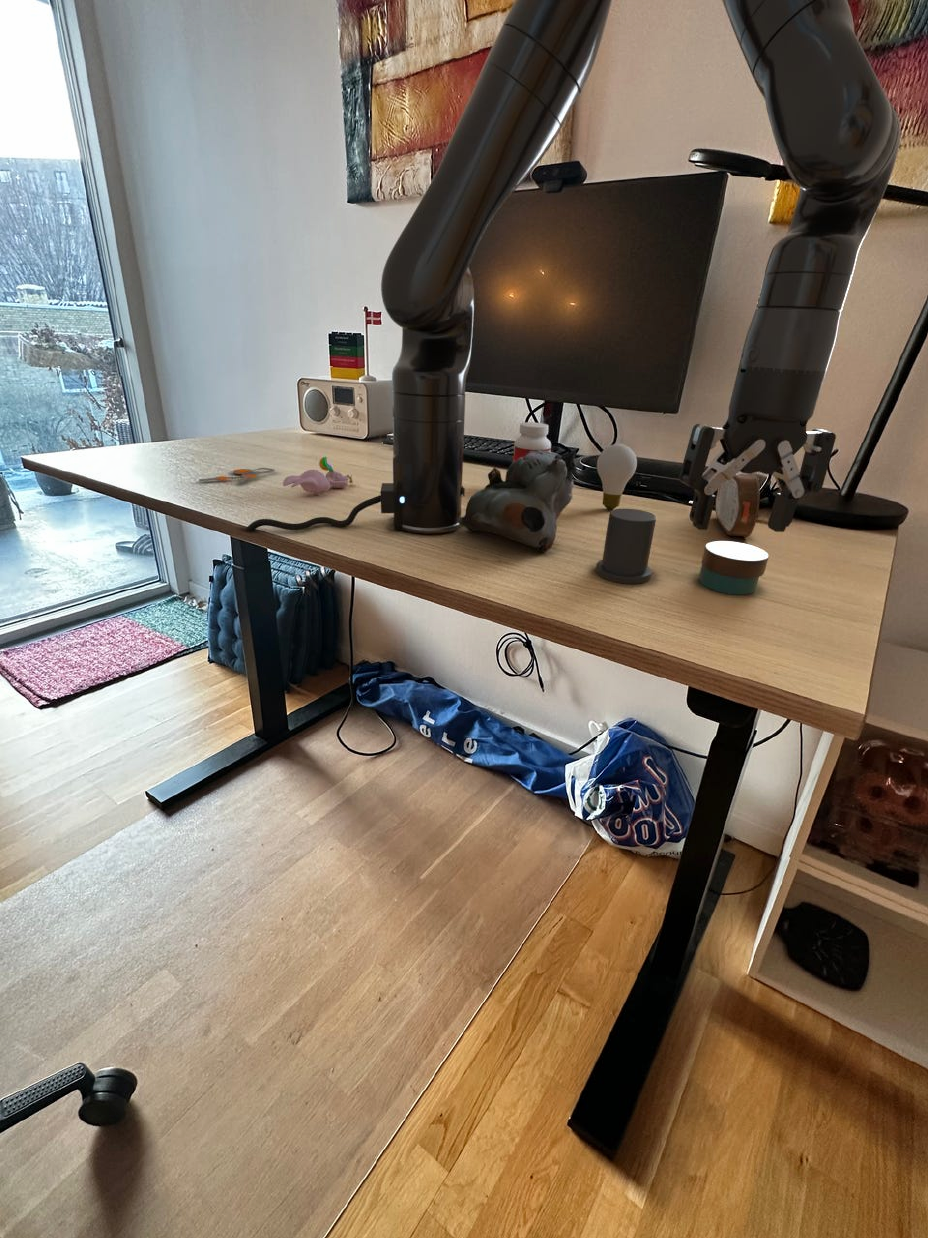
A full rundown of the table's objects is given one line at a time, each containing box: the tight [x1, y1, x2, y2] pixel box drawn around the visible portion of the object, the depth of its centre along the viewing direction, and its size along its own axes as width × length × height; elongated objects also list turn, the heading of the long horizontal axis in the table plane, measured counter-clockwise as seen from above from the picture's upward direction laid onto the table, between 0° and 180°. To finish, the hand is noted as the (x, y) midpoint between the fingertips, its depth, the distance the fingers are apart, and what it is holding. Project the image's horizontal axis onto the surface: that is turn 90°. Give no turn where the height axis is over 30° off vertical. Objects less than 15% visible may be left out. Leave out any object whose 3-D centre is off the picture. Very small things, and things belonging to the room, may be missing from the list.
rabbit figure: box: [282, 456, 354, 496], centre depth 92 cm, size 6×6×15 cm
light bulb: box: [596, 443, 638, 511], centre depth 89 cm, size 6×6×10 cm
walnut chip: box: [700, 540, 770, 578], centre depth 64 cm, size 6×6×2 cm
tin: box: [714, 471, 761, 538], centre depth 83 cm, size 15×3×8 cm, turn 168°
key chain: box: [198, 467, 276, 484], centre depth 101 cm, size 13×7×1 cm, turn 156°
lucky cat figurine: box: [458, 450, 576, 553], centre depth 74 cm, size 15×12×14 cm
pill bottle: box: [512, 421, 552, 463], centre depth 98 cm, size 6×6×11 cm
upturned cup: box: [595, 508, 657, 585], centre depth 65 cm, size 6×6×7 cm
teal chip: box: [698, 564, 760, 596], centre depth 65 cm, size 6×6×2 cm
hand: (737, 528), depth 62 cm, fingers open, 8 cm apart
